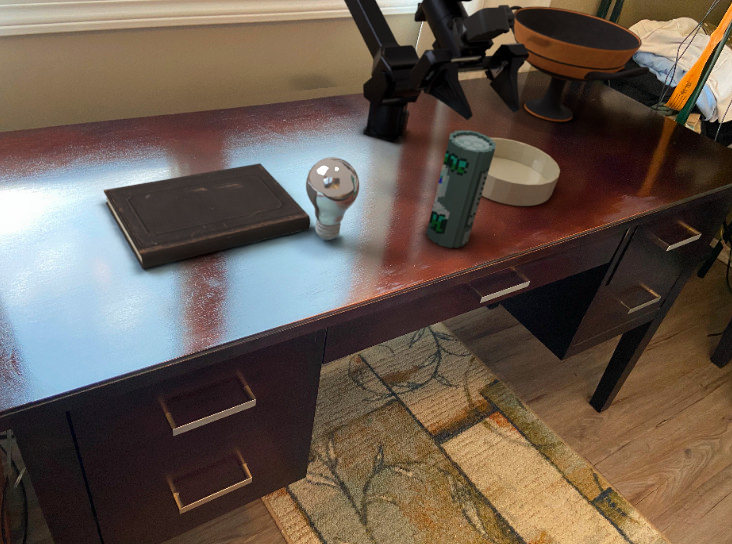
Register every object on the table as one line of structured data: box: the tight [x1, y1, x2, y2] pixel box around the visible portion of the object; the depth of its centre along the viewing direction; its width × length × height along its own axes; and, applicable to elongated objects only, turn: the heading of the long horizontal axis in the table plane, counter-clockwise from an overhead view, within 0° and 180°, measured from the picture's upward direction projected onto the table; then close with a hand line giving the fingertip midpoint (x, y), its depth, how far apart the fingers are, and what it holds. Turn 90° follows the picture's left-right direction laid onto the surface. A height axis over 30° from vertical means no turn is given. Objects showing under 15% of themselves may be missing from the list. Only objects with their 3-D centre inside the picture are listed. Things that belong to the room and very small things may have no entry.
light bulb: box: [305, 156, 360, 241], centre depth 80 cm, size 7×7×12 cm
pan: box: [481, 137, 561, 207], centre depth 103 cm, size 16×16×4 cm
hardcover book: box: [103, 163, 311, 269], centre depth 83 cm, size 16×23×2 cm
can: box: [425, 129, 496, 249], centre depth 84 cm, size 6×6×15 cm
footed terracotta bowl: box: [509, 5, 651, 122], centre depth 126 cm, size 36×26×18 cm
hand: (494, 114), depth 88 cm, fingers open, 9 cm apart
